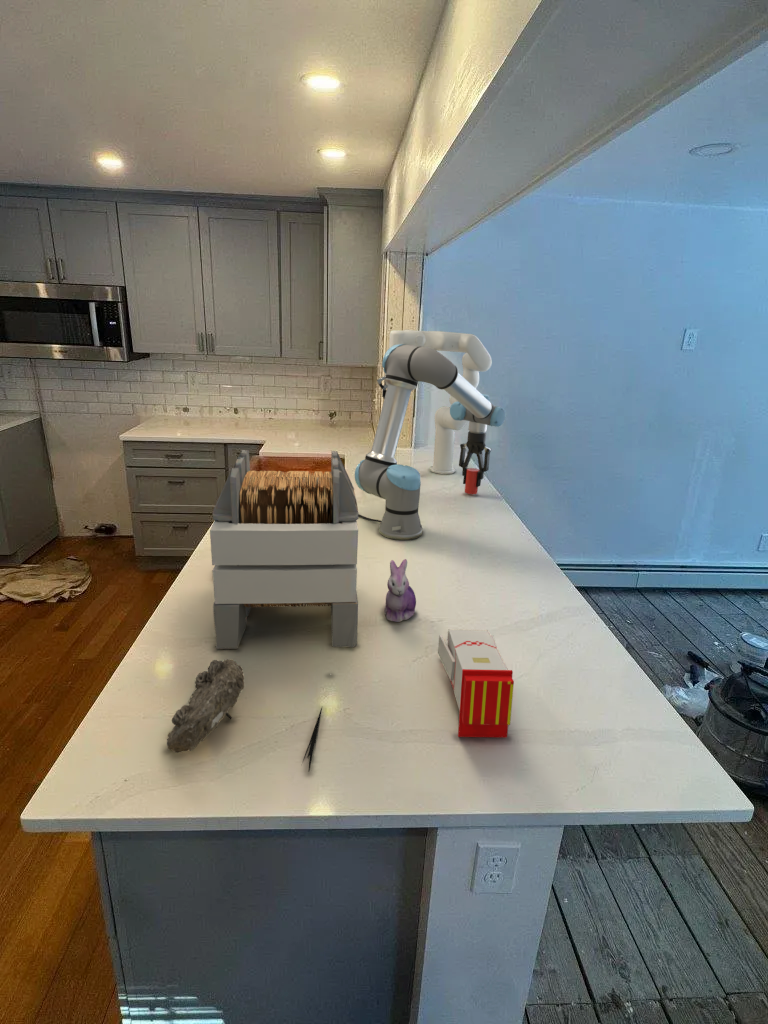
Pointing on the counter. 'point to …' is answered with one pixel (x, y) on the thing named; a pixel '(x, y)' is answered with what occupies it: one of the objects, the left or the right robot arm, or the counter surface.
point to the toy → (478, 682)
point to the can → (471, 481)
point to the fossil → (206, 705)
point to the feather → (313, 740)
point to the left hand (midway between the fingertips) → (471, 484)
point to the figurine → (399, 594)
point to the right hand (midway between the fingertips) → (395, 398)
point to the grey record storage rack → (285, 547)
